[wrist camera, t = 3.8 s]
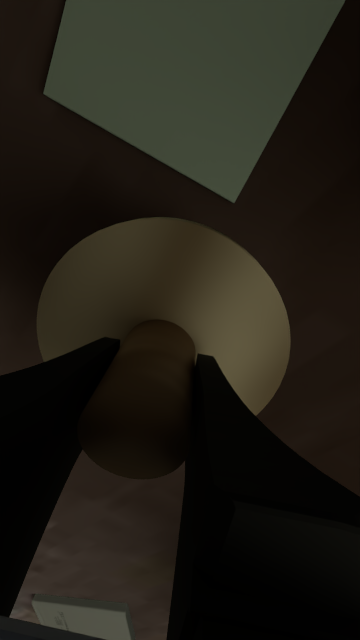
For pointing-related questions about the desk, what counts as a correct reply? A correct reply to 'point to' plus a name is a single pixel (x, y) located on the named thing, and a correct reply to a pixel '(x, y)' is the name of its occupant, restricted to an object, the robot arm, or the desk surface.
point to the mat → (188, 76)
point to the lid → (161, 333)
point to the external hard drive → (85, 616)
